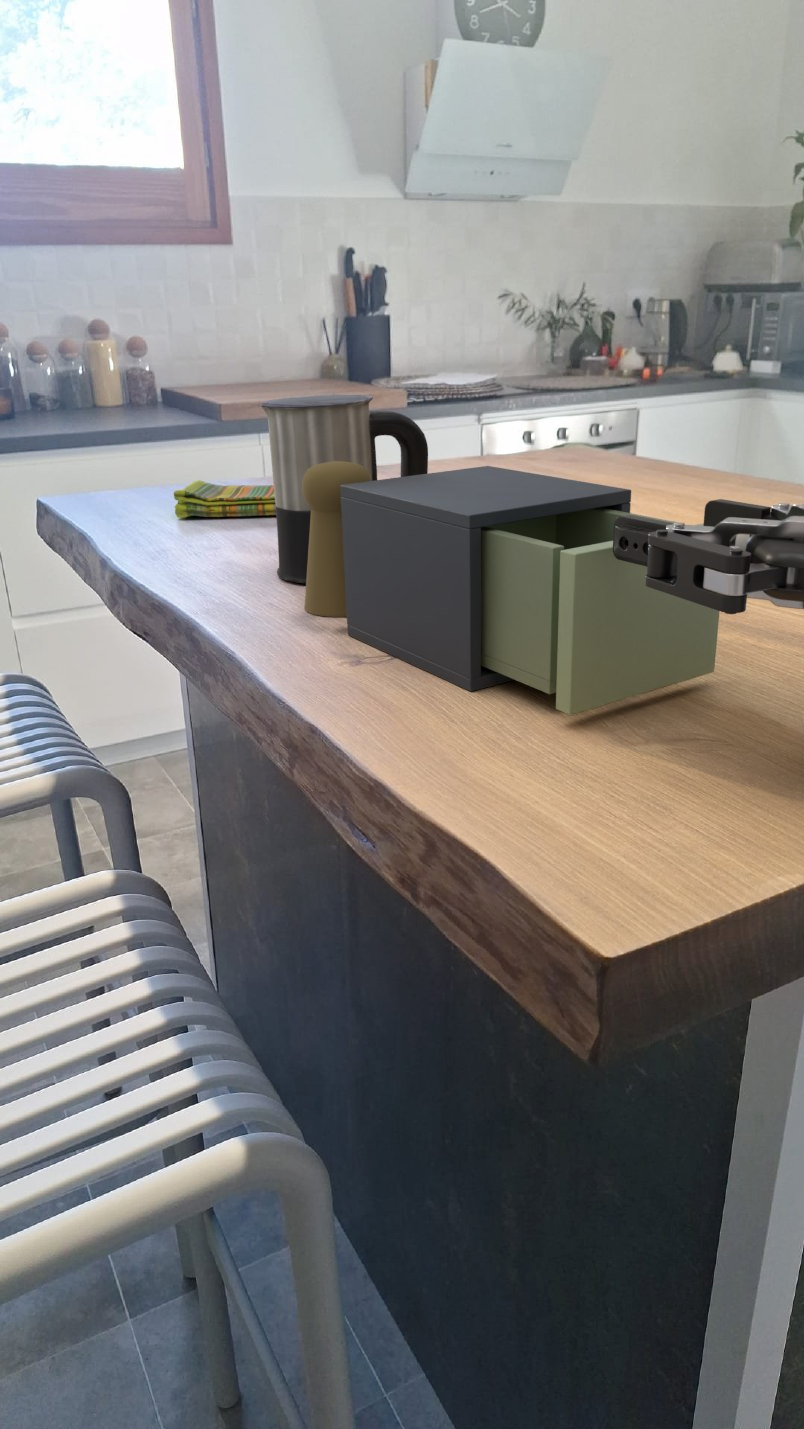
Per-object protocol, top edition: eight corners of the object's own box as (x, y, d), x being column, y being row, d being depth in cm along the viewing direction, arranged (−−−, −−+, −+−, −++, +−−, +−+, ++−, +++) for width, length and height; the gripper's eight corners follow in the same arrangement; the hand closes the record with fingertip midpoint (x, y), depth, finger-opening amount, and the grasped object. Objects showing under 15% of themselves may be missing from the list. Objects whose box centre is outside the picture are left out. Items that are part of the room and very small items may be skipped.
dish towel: (196, 497, 129) (193, 471, 128) (477, 488, 129) (477, 462, 128) (172, 520, 115) (169, 492, 114) (488, 511, 115) (488, 482, 114)
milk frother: (306, 592, 84) (294, 405, 78) (226, 559, 96) (211, 395, 91) (446, 566, 91) (444, 393, 86) (355, 538, 103) (349, 385, 98)
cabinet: (623, 651, 67) (631, 489, 63) (470, 692, 61) (469, 515, 57) (487, 605, 79) (488, 465, 75) (347, 635, 72) (339, 484, 69)
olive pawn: (295, 616, 77) (285, 469, 73) (314, 595, 83) (305, 457, 79) (373, 617, 76) (367, 468, 72) (387, 596, 82) (382, 456, 78)
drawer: (785, 696, 56) (805, 526, 53) (637, 745, 51) (649, 559, 47) (562, 621, 71) (566, 484, 67) (427, 653, 65) (424, 505, 62)
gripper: (1091, 475, 43) (761, 441, 56) (886, 519, 35) (562, 469, 49) (1054, 646, 45) (748, 575, 59) (856, 719, 38) (558, 620, 51)
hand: (665, 527), depth 53 cm, fingers closed on drawer, 6 cm apart
